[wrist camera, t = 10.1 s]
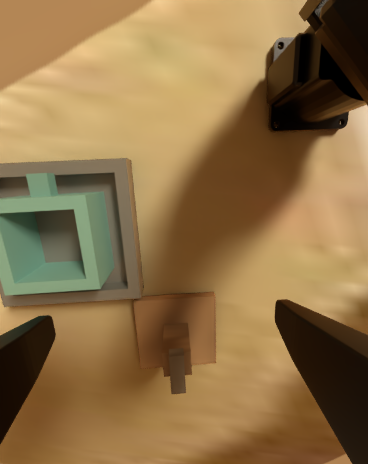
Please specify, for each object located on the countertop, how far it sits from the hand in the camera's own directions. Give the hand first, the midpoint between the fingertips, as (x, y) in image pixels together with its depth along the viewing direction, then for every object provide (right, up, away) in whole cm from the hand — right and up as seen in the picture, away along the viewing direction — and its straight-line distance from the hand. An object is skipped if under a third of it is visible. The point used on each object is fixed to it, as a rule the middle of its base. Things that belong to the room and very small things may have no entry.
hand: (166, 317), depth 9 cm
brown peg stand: (0, -7, +14) cm, 16 cm away
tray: (-10, +3, +11) cm, 15 cm away
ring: (-10, +3, +10) cm, 14 cm away
